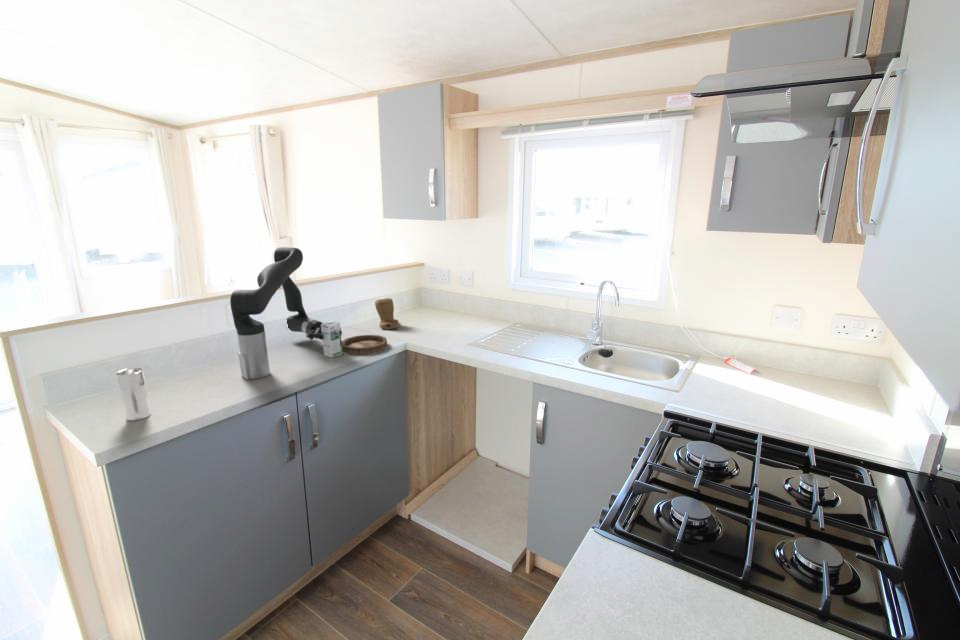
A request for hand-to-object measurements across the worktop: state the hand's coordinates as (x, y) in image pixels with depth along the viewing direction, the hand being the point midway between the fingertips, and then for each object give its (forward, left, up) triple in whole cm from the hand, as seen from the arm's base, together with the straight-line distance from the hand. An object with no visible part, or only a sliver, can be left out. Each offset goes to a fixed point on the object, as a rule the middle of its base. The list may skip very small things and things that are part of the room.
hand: (331, 335), depth 194 cm
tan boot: (+43, +21, -9) cm, 49 cm away
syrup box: (0, 0, -9) cm, 9 cm away
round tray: (+15, -1, -9) cm, 18 cm away
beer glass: (-71, -9, -9) cm, 72 cm away
